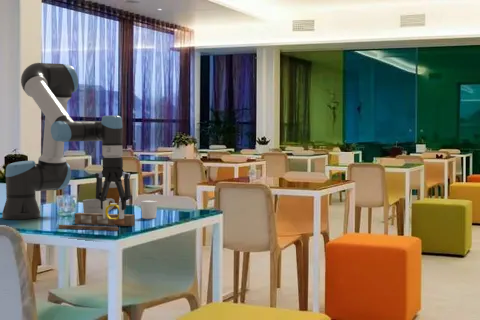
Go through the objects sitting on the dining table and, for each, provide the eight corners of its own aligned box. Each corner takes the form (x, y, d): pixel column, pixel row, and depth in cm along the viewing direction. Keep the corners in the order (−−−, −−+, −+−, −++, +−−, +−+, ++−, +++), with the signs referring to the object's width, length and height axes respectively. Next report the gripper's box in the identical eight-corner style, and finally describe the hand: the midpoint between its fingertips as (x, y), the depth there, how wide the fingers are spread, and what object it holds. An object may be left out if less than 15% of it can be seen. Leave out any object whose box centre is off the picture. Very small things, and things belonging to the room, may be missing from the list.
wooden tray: (58, 228, 266) (58, 216, 266) (78, 222, 281) (78, 211, 280) (117, 230, 260) (117, 218, 259) (134, 225, 274) (134, 213, 274)
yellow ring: (122, 219, 268) (122, 204, 267) (118, 220, 265) (119, 204, 265) (107, 218, 270) (108, 202, 269) (104, 218, 267) (105, 203, 266)
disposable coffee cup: (119, 209, 323) (119, 183, 323) (99, 209, 324) (98, 183, 323) (123, 207, 333) (123, 181, 332) (103, 207, 333) (103, 181, 332)
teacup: (86, 220, 288) (86, 200, 287) (79, 217, 297) (79, 198, 297) (120, 218, 294) (119, 198, 294) (112, 215, 304) (111, 196, 303)
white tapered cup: (154, 219, 291) (154, 202, 291) (138, 218, 292) (138, 201, 292) (159, 216, 298) (159, 200, 297) (144, 216, 299) (143, 199, 299)
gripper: (84, 157, 265) (86, 218, 266) (131, 157, 260) (132, 220, 261) (94, 156, 273) (95, 216, 274) (140, 156, 267) (140, 217, 268)
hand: (113, 218), depth 267 cm, fingers closed on yellow ring, 6 cm apart
